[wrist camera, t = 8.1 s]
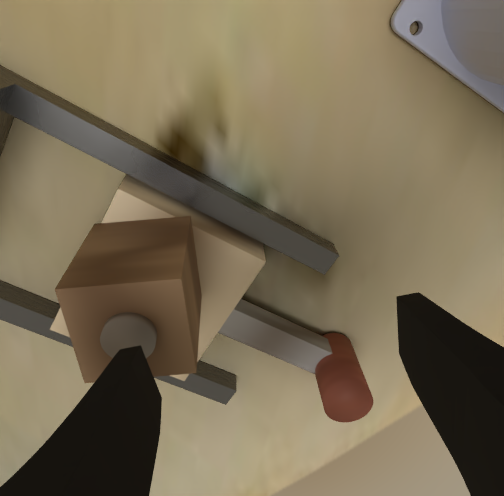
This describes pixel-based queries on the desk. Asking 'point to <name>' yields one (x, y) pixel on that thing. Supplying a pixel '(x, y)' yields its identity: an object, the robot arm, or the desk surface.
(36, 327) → the press frame
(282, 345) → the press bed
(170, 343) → the block
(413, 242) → the desk surface
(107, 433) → the robot arm
